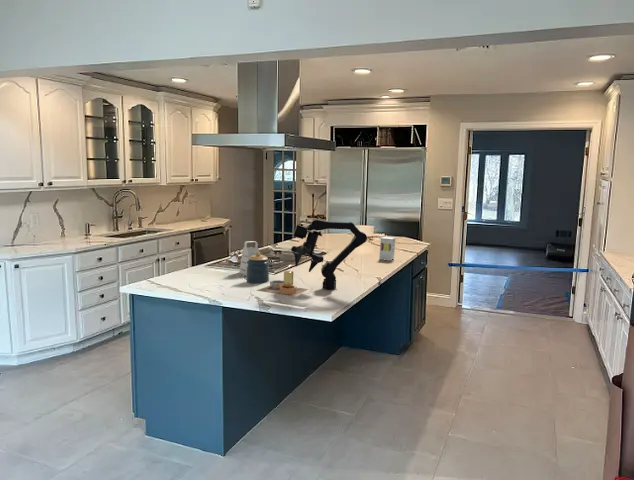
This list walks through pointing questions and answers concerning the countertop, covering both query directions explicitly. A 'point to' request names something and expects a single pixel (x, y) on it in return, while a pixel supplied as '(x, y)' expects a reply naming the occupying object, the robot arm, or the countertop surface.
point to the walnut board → (277, 291)
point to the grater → (247, 256)
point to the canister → (257, 269)
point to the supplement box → (387, 248)
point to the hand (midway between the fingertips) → (302, 268)
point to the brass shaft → (288, 279)
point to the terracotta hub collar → (287, 290)
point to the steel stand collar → (276, 284)
